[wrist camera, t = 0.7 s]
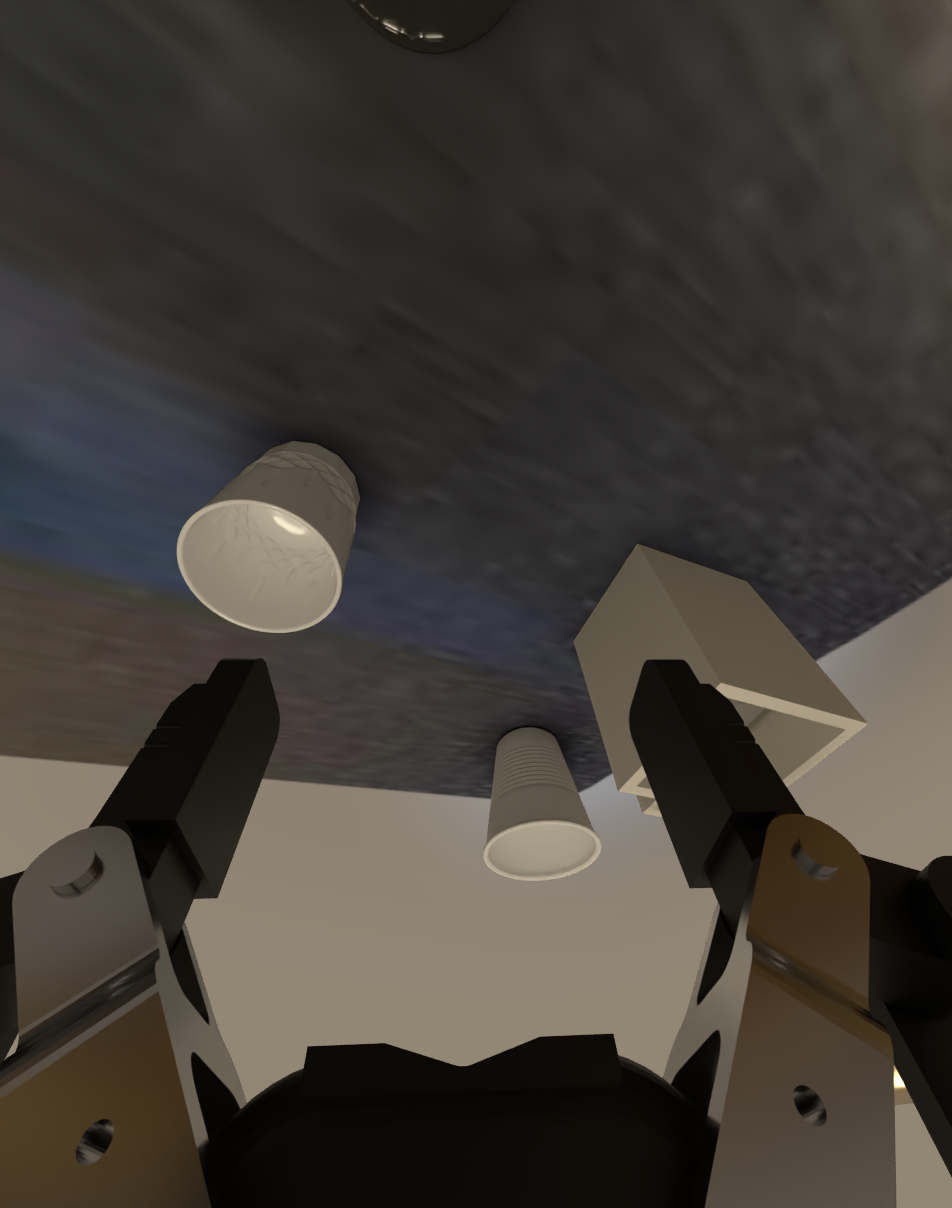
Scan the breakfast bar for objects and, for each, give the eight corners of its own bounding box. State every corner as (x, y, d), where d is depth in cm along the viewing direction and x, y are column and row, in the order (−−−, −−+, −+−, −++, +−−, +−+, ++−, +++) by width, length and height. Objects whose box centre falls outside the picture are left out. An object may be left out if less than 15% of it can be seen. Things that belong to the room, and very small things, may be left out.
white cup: (392, 508, 33) (373, 593, 25) (305, 560, 36) (262, 653, 28) (313, 405, 29) (260, 468, 21) (219, 472, 31) (140, 551, 23)
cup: (457, 748, 49) (458, 858, 41) (528, 697, 45) (546, 807, 36) (525, 784, 54) (539, 891, 45) (595, 740, 49) (626, 849, 41)
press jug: (637, 543, 36) (720, 682, 25) (746, 581, 38) (868, 723, 27) (557, 665, 43) (594, 816, 32) (654, 690, 45) (719, 839, 34)
